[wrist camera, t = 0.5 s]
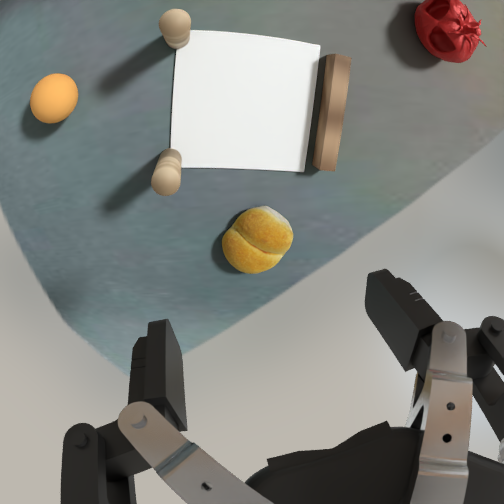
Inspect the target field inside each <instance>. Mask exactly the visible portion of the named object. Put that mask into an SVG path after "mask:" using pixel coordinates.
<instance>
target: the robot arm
mask: <svg viewBox="0 0 504 504" xmlns="http://www.w3.org/2000/svg"><path fill="white" fill-rule="evenodd" d="M365 309H366V312H367V314H368V316H369V318H370V319H371V321H372V322H373V324H374V325H375V326H376V328H377V330H378V331H379V332H380V334H381V335H382V337H383V338H384V340H385V341H386V343H387V344H388V346H389V347H390V349H391V350H392V352H393V353H394V355H395V356H396V358H397V360H398V361H399V363H400V364H401V366H402V367H403V369H404V370H405V372H406V371H408V370H411V369H413V368H415V369H416V370H417V374H416V379H415V385H414V391H413V396H412V403H411V407H410V413H409V416H408V419H407V422H406V425H405V427H390V426H389V424H388V422H387V421H385V422H383V423H380V424H377V425H375V426H372V427H370V428H367V429H365V430H362V431H360V432H358V433H357V434H355V435H353V436H352V437H350V438H349V439H347V440H346V441H344V442H343V443H341V444H339V445H338V446H336V447H334V448H332V449H323V450H310V451H297V452H293V453H289V454H285V455H282V456H277V457H273V458H269V459H267V462H268V466H267V467H265V468H263V469H261V470H259V471H258V472H256V473H255V474H253V475H252V476H251V477H250V478H249V479H248V480H247V481H246V482H245V483H244V482H243V481H241V480H240V479H239V478H237V477H236V476H235V475H233V474H232V473H231V472H229V471H228V470H227V469H226V468H224V467H223V466H222V465H221V464H219V463H218V462H217V461H216V460H214V459H213V458H212V457H211V456H210V455H208V454H207V453H206V452H205V451H204V450H203V449H201V448H200V447H199V446H198V445H196V444H195V443H191V442H190V441H189V440H188V439H186V438H185V437H184V436H183V435H182V434H181V433H180V432H181V431H187V419H186V407H185V394H184V393H185V392H184V378H183V361H182V354H181V350H180V346H179V344H178V341H177V339H176V337H175V334H174V332H173V329H172V327H171V324H170V322H169V320H168V319H164V320H158V321H153V322H149V324H148V333H147V336H146V337H140V338H138V340H137V342H136V344H135V345H134V347H133V351H132V361H131V371H130V383H129V396H128V405H127V406H126V407H125V408H124V409H123V410H122V411H121V413H120V414H119V417H118V419H117V420H116V421H114V422H112V423H109V424H107V425H104V426H102V427H99V428H96V429H95V428H94V427H93V426H91V425H90V424H87V423H79V424H76V425H74V426H72V427H71V428H70V429H69V430H68V431H67V433H66V434H65V437H64V441H63V453H62V470H61V471H62V472H61V504H137V503H136V494H135V484H134V474H137V473H140V472H142V471H145V470H147V469H150V468H154V470H155V471H156V473H157V474H158V475H159V476H160V477H161V478H162V479H163V480H164V482H165V483H166V484H167V485H168V486H169V487H170V488H171V489H172V490H174V492H175V493H176V494H178V495H179V496H180V497H181V498H182V499H183V500H184V501H185V502H186V503H187V504H504V382H503V381H502V379H501V378H500V376H499V375H498V374H497V372H496V370H495V369H494V368H493V366H494V364H496V365H497V367H498V368H499V370H500V371H501V372H502V374H503V375H504V320H503V319H501V318H498V317H495V316H489V317H486V318H485V319H484V320H483V321H482V324H481V326H480V328H472V329H463V328H462V327H461V326H460V325H458V324H456V323H454V322H451V321H443V320H442V319H441V318H440V317H439V315H438V314H437V313H436V312H435V311H434V310H433V309H432V307H431V306H430V305H429V304H428V303H427V302H426V301H425V300H424V299H423V298H422V296H421V295H420V294H419V293H417V291H416V290H415V289H414V287H412V285H411V284H410V283H408V282H406V281H405V280H403V279H401V278H395V277H394V276H393V275H392V274H391V273H390V272H389V271H388V270H387V269H383V270H379V271H375V272H372V273H369V274H368V277H367V286H366V295H365ZM472 395H473V396H474V398H475V400H476V401H477V403H478V404H479V406H480V408H481V410H482V411H483V413H484V414H485V416H486V418H487V420H488V422H489V423H490V425H491V427H492V429H493V430H494V432H495V434H496V435H497V438H498V439H499V441H500V446H499V455H498V461H499V462H497V461H494V460H492V459H489V458H486V457H483V456H481V455H478V454H475V453H473V452H470V451H468V447H469V438H470V427H471V413H472Z"/></svg>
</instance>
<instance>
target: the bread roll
mask: <svg viewBox="0 0 504 504" xmlns="http://www.w3.org/2000/svg"><path fill="white" fill-rule="evenodd" d="M292 240H293V233H292V229H291V227H290V224H289V222H288V221H287V220H286V219H285V218H284V217H283V216H282V215H280V214H279V213H278V212H276V211H275V210H273V209H271V208H269V207H268V206H260V207H255V208H251V209H248V210H247V211H245V212H244V213H242V214H241V215H240V216H239V217H238V218H237V220H236V221H235V223H234V224H233V225H232V227H231V228H230V229H228V231H227V232H226V233H225V234H224V236H223V238H222V247H223V252H224V255H225V257H226V259H227V260H228V261H229V263H230V264H231V265H232V266H233V267H235V268H236V269H237V270H239V271H241V272H244V273H250V274H253V273H260V272H263V271H266V270H268V269H270V268H272V267H273V266H275V265H276V264H277V263H278V262H279V261H280V259H281V258H282V256H283V255H284V254H285V253H286V251H287V250H288V249H289V248H290V246H291V243H292Z"/></svg>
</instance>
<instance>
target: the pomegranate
mask: <svg viewBox="0 0 504 504" xmlns="http://www.w3.org/2000/svg"><path fill="white" fill-rule="evenodd" d="M480 24H481V20H480V21H479V23H477V22H476V21H475V19H474V18H473V16H472V14H471V13H470V11H469V10H468V8H467V6H466V4H465V6H464V5H463V4H462V3H461V1H460V0H425V1H424V2H423V3H421V4H420V5H419V6H418V7H417V9H416V12H415V27H416V32H417V34H418V37H419V39H420V41H421V42H422V44H423V45H424V47H425V48H426V49H427V50H428V51H429V52H430V53H431V54H432V55H434V56H436V57H438V58H440V59H442V60H444V61H448V62H455V63H461V62H464V61H466V60H468V59H469V58H470V57H471V55H472V54H473V52H474V50H475V49H476V47H477V45H478V43H479V41H481V42H482V43H483V44H484V42H483V41H482V40H480V39H479V36H480V35H481V31H480V29H479V25H480ZM484 45H485V44H484ZM485 46H486V45H485ZM486 47H487V46H486Z"/></svg>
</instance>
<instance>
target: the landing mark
mask: <svg viewBox="0 0 504 504" xmlns="http://www.w3.org/2000/svg"><path fill="white" fill-rule="evenodd" d="M319 53H320V45H315V44H310V43H305V42H300V41H294V40H288V39H282V38H275V37H268V36H261V35H253V34H243V33H233V32H219V31H200V30H190V40H189V42H188V44H187V45H186V46H184V47H182V48H179V49H177V51H176V62H175V74H174V88H173V104H172V125H171V149H175V150H177V151H178V152H179V153H180V154H181V157H182V163H181V168H236V169H260V170H279V171H295V172H304V169H305V162H306V155H307V148H308V141H309V134H310V126H311V119H312V111H313V104H314V96H315V88H316V79H317V71H318V62H319Z"/></svg>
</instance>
